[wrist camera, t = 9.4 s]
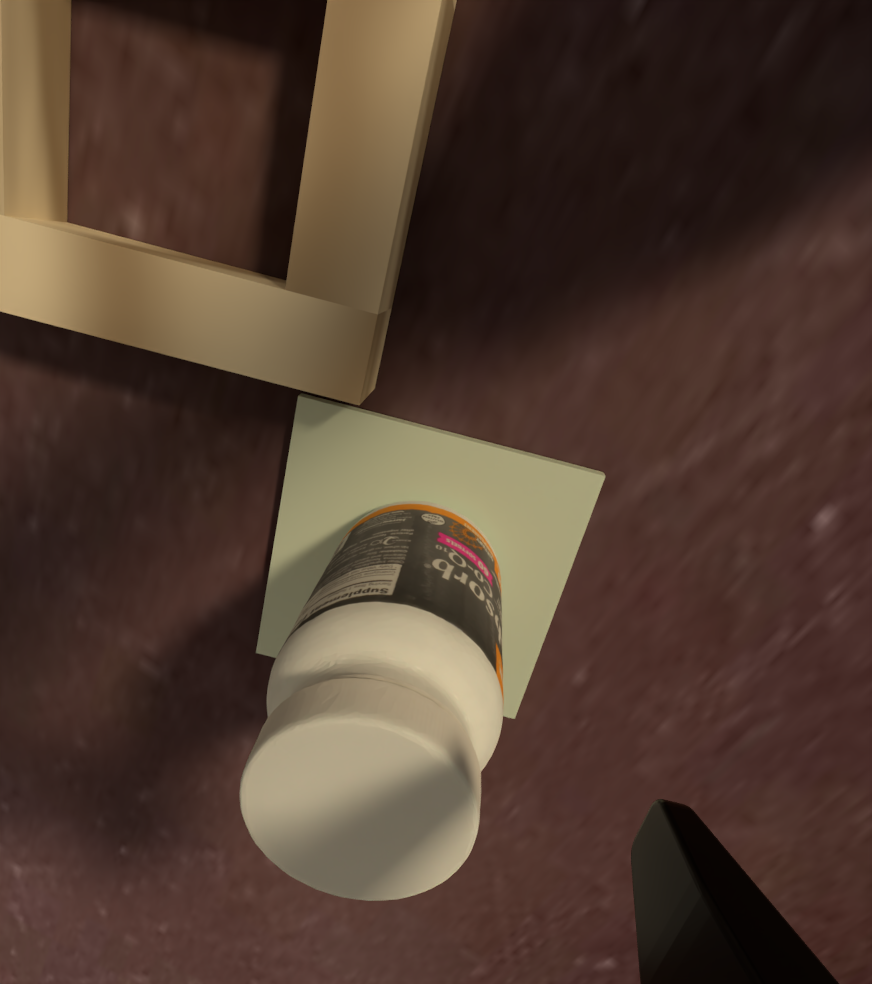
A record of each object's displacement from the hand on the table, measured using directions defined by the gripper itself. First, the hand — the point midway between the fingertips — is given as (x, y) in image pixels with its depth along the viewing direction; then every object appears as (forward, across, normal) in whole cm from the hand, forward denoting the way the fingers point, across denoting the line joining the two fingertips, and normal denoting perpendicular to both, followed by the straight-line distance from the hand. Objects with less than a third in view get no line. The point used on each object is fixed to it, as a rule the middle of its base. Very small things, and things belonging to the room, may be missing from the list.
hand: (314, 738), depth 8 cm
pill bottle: (+12, -1, +4) cm, 13 cm away
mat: (+13, -1, +4) cm, 13 cm away
